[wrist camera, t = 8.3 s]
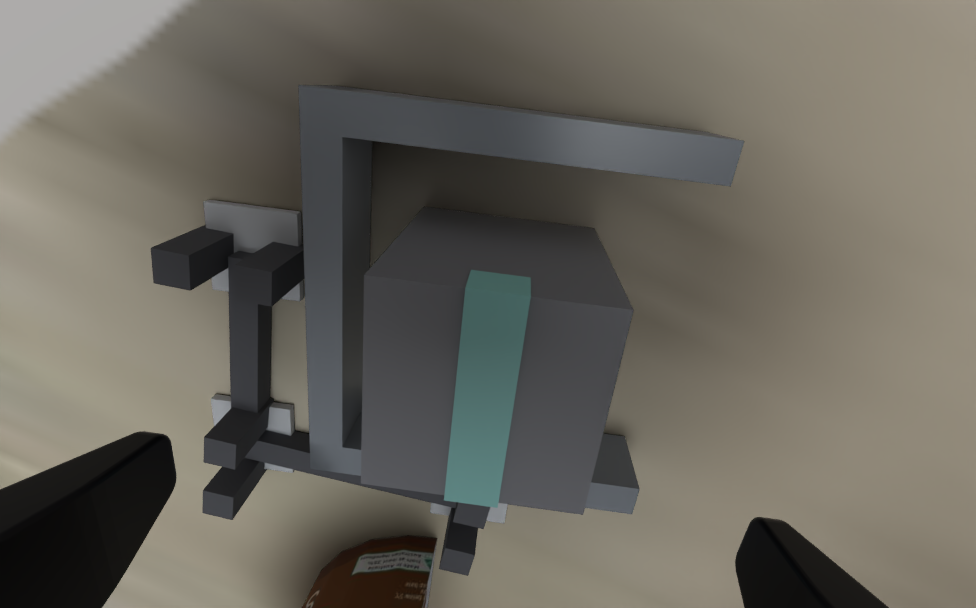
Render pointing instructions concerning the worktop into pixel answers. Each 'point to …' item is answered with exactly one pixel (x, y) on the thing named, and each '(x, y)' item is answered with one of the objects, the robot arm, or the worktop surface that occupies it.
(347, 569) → the food container
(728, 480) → the worktop surface
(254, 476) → the clip
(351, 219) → the holder
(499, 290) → the block
